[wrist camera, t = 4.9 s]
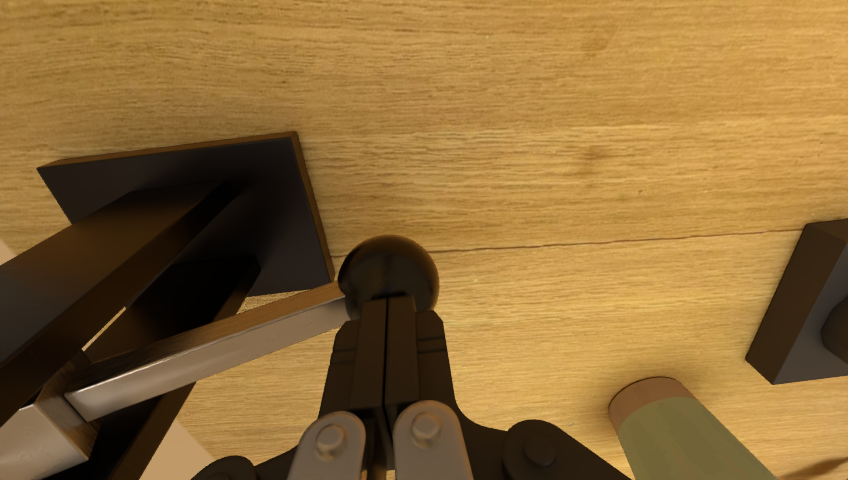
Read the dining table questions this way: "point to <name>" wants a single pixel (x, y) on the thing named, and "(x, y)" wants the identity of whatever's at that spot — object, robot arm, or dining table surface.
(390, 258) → the lever
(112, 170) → the bracket
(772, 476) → the coffee cup
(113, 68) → the dining table surface
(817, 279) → the button block
